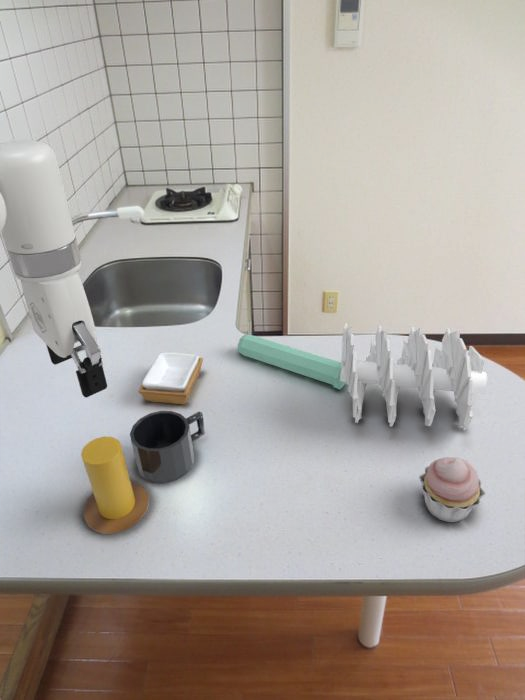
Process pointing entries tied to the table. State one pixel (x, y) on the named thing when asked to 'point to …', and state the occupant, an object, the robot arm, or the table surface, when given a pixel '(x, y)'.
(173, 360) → the soap dish
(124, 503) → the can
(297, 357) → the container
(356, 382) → the spiral staircase
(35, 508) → the table surface
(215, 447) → the table surface
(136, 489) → the coaster
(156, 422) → the mug
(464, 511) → the cupcake
